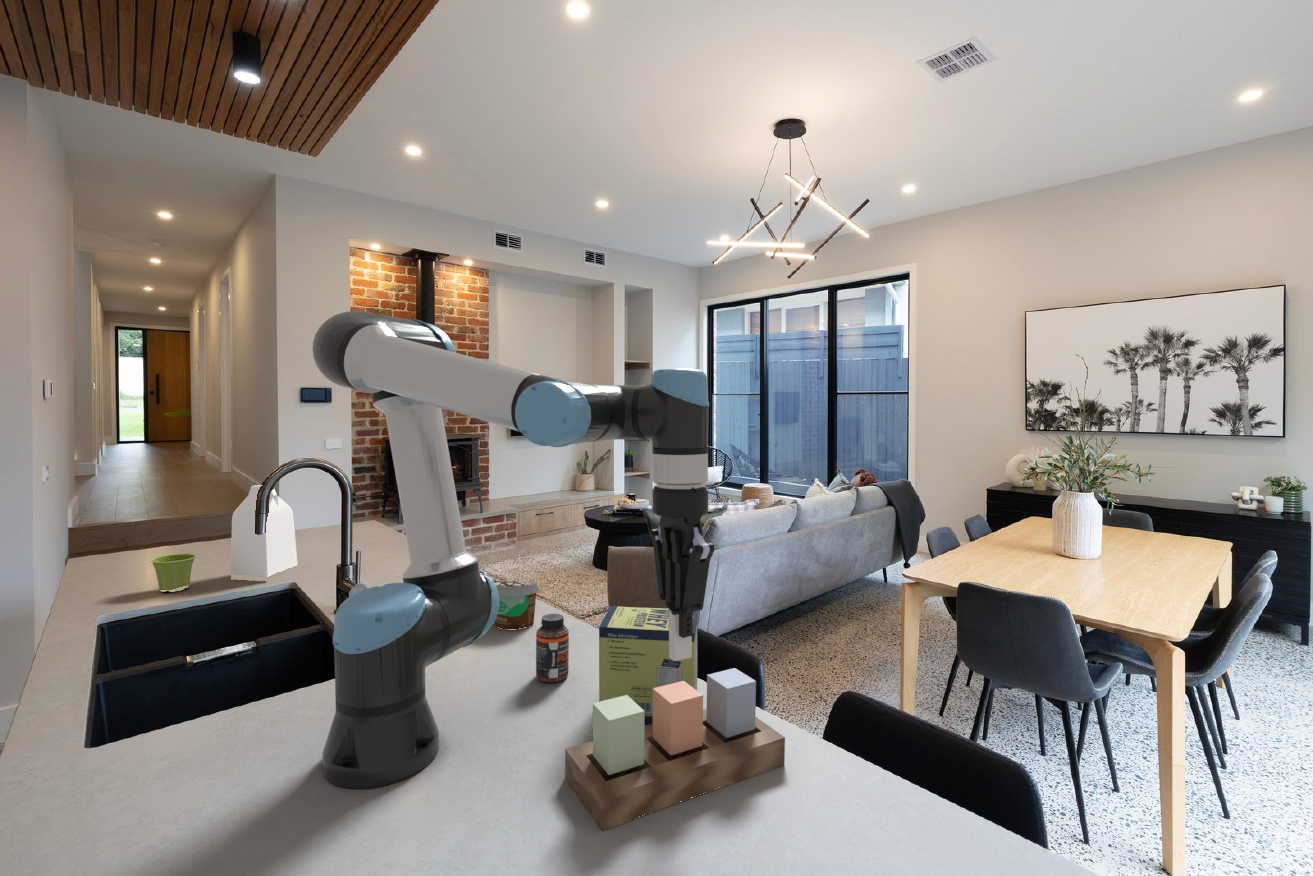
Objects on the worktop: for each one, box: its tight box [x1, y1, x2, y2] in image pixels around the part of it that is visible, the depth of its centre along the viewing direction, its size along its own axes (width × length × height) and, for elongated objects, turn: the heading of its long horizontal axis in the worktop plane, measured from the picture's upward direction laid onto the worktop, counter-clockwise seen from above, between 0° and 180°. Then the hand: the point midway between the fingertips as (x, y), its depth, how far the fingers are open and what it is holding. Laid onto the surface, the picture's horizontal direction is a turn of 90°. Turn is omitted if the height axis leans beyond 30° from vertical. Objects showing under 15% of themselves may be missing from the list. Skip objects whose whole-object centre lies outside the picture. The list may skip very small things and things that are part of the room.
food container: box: [491, 576, 540, 630], centre depth 139 cm, size 12×6×10 cm, turn 68°
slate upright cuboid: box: [706, 667, 757, 738], centre depth 89 cm, size 5×5×7 cm
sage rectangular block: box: [592, 695, 645, 775], centre depth 80 cm, size 5×5×7 cm
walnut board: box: [564, 708, 786, 832], centre depth 85 cm, size 28×12×4 cm, turn 119°
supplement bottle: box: [535, 613, 570, 684], centre depth 114 cm, size 6×6×11 cm
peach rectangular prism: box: [652, 681, 704, 755], centre depth 85 cm, size 5×5×7 cm
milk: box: [229, 484, 299, 577], centre depth 178 cm, size 12×12×26 cm
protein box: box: [598, 605, 698, 726], centre depth 102 cm, size 10×16×16 cm
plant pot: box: [150, 553, 197, 591], centre depth 164 cm, size 9×9×9 cm
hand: (680, 657), depth 84 cm, fingers closed
